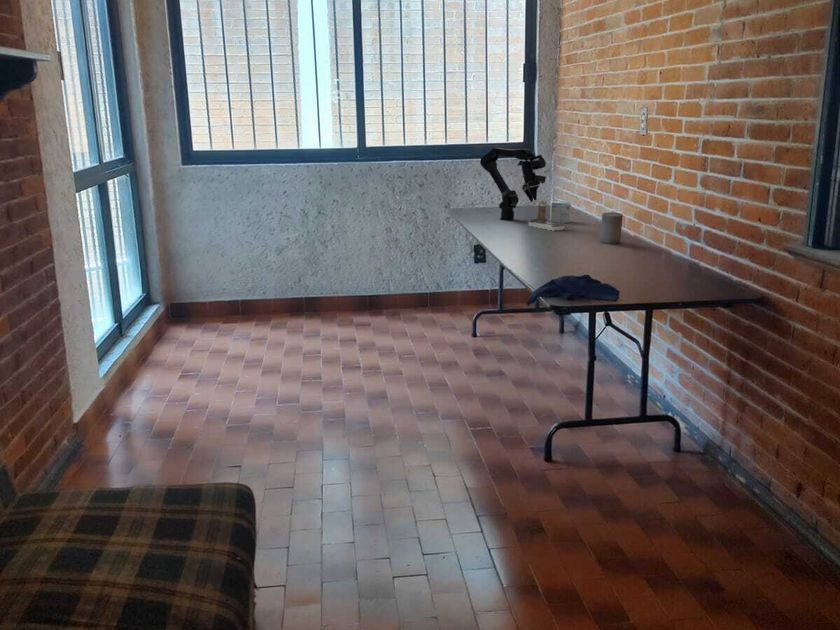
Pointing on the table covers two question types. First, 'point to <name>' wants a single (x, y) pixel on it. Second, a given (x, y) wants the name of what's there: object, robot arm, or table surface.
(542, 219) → the fader
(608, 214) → the pillar candle
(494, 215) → the table surface
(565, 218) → the light bulb box
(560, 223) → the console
